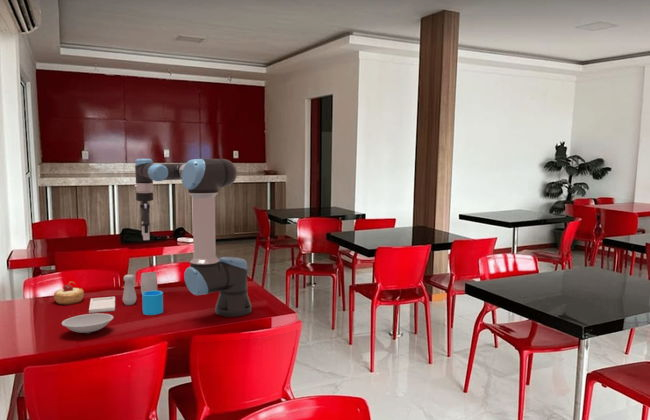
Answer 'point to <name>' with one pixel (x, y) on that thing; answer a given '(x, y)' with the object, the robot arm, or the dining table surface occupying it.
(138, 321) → the dining table surface
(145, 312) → the mug
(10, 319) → the dining table surface
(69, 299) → the pastry
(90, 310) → the tray
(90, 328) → the dish
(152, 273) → the tea bag
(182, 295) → the dining table surface
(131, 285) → the salt shaker
